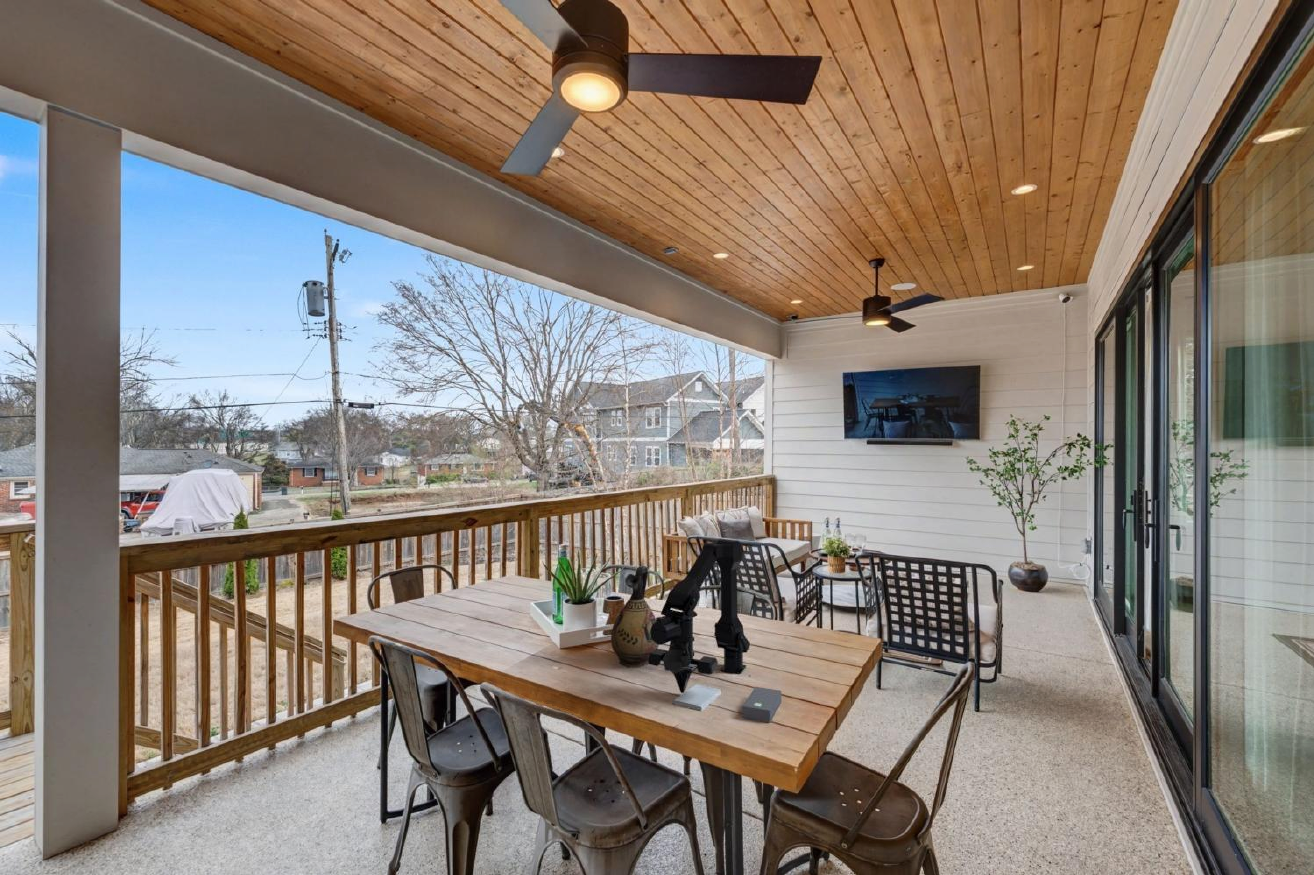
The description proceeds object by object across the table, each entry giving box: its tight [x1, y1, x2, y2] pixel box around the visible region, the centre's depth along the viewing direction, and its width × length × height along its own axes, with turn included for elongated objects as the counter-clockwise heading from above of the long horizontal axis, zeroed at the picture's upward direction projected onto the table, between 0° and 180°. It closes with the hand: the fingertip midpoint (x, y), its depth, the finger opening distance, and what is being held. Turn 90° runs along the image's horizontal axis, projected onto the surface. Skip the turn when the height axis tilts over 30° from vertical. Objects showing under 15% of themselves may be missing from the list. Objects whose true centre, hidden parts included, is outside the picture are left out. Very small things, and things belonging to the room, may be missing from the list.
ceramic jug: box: [610, 565, 660, 668], centre depth 188 cm, size 17×15×30 cm
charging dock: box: [741, 686, 782, 724], centre depth 153 cm, size 13×8×3 cm, turn 156°
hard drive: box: [673, 684, 722, 712], centre depth 160 cm, size 2×8×12 cm
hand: (682, 692), depth 162 cm, fingers closed
